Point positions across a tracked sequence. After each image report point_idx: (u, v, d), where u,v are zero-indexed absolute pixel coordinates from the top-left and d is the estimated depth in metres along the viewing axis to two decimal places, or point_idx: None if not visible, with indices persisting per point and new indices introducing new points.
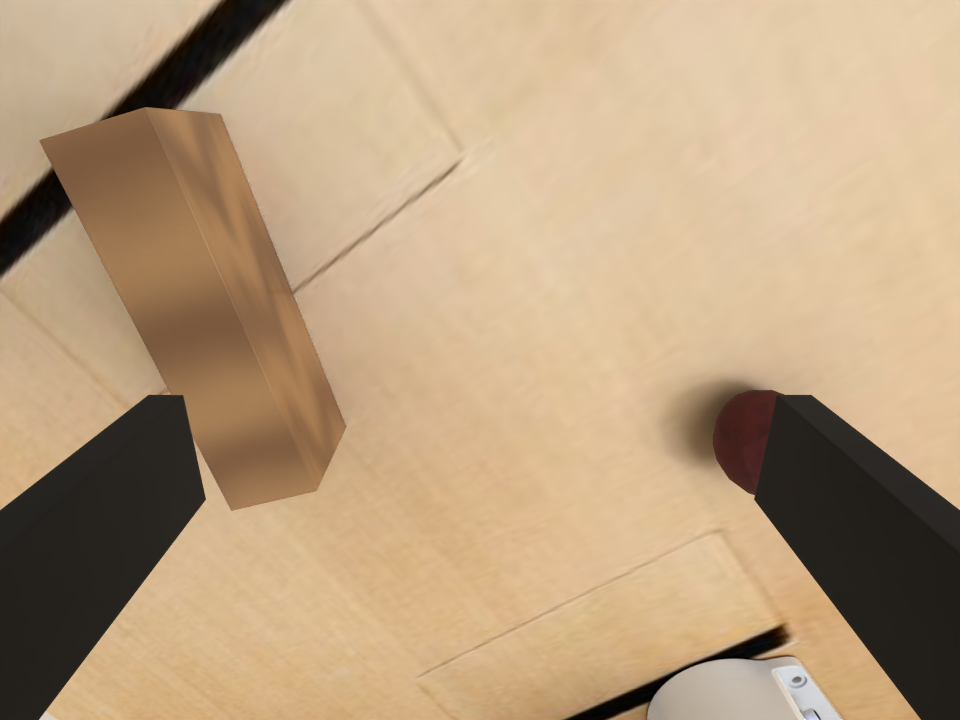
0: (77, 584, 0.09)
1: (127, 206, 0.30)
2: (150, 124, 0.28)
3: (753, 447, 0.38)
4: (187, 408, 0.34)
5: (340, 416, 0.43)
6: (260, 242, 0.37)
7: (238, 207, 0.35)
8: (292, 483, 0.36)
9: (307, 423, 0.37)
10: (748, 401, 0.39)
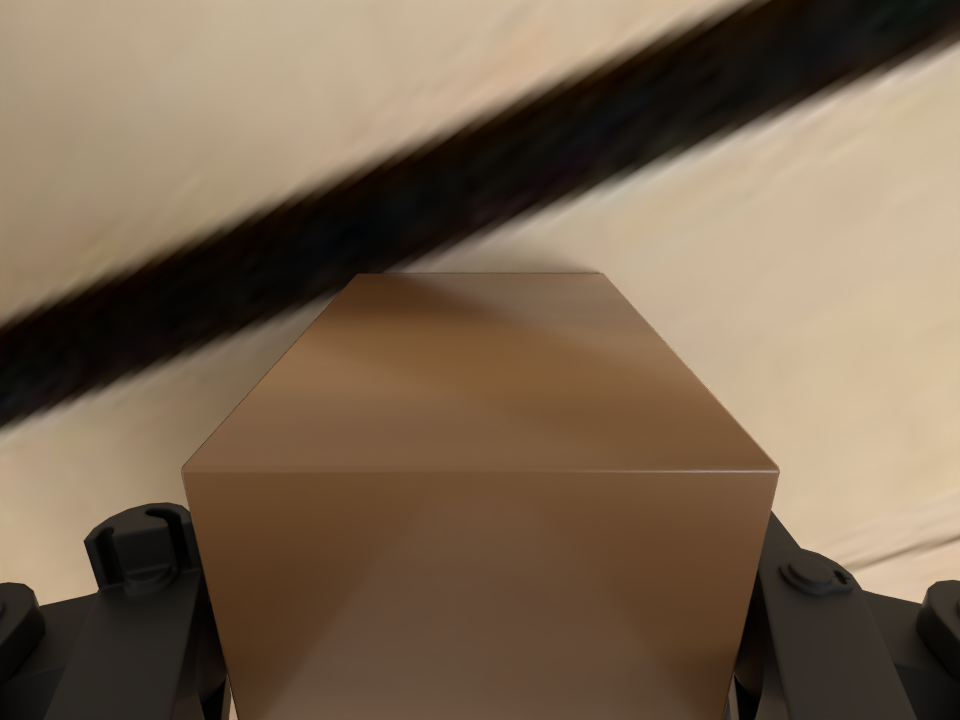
0: None
1: None
2: (752, 531, 0.06)
3: None
4: None
5: None
6: None
7: None
8: None
9: None
10: None
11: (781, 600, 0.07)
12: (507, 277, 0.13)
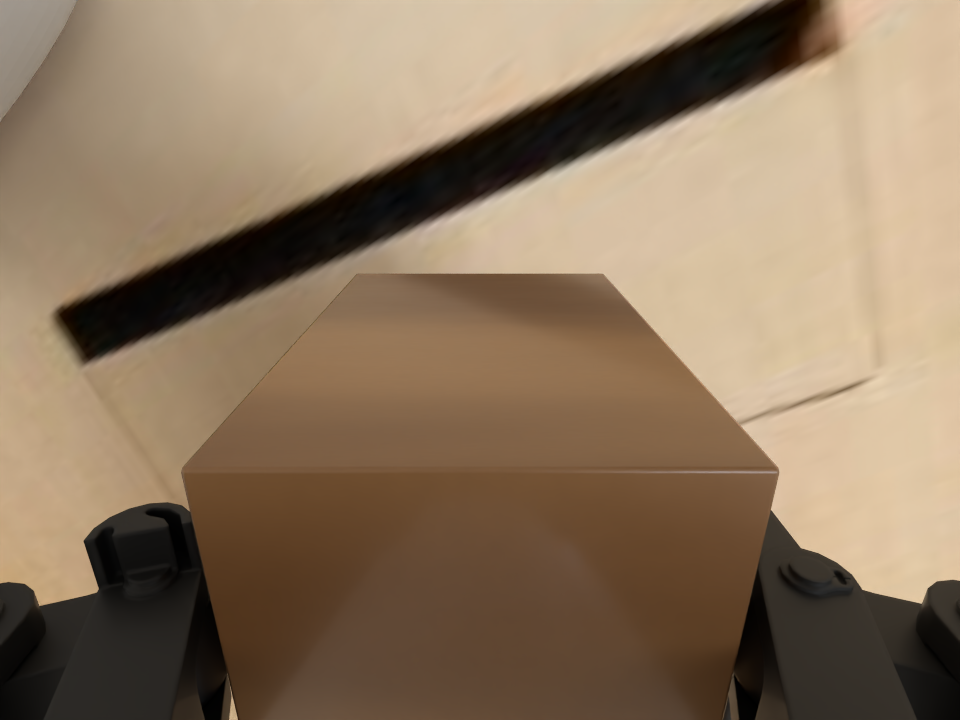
0: None
1: None
2: (751, 532, 0.06)
3: None
4: None
5: None
6: None
7: None
8: None
9: None
10: None
11: (781, 600, 0.07)
12: (507, 277, 0.13)
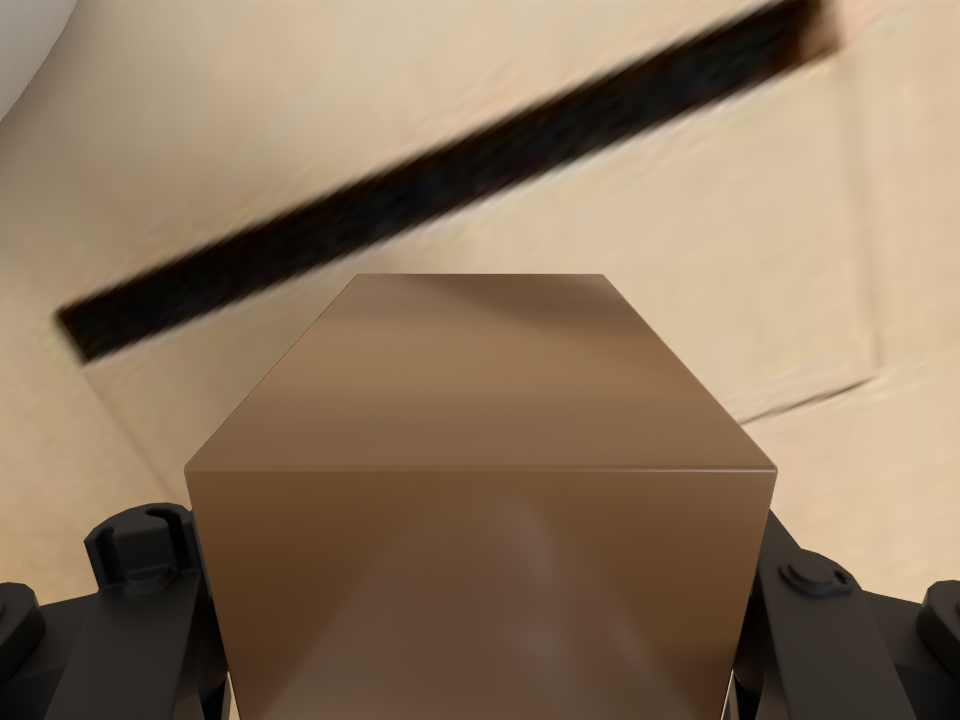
0: None
1: None
2: (749, 529, 0.06)
3: None
4: None
5: None
6: None
7: None
8: None
9: None
10: None
11: (781, 600, 0.07)
12: (507, 278, 0.13)
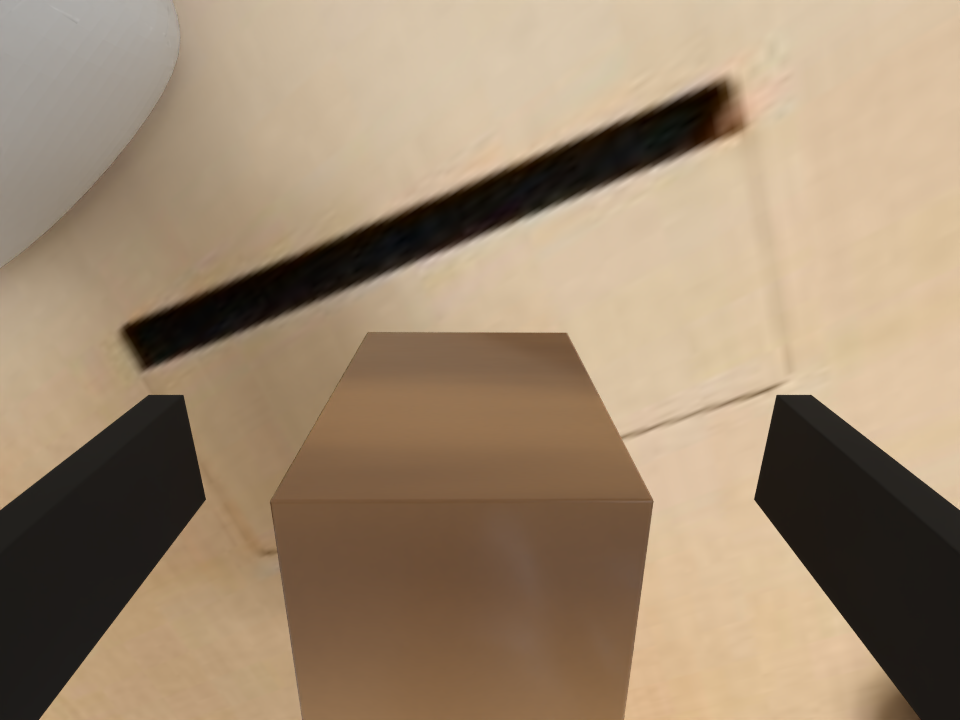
0: (77, 584, 0.09)
1: (450, 693, 0.10)
2: (638, 540, 0.09)
3: None
4: None
5: None
6: None
7: None
8: None
9: None
10: None
11: None
12: (489, 337, 0.16)
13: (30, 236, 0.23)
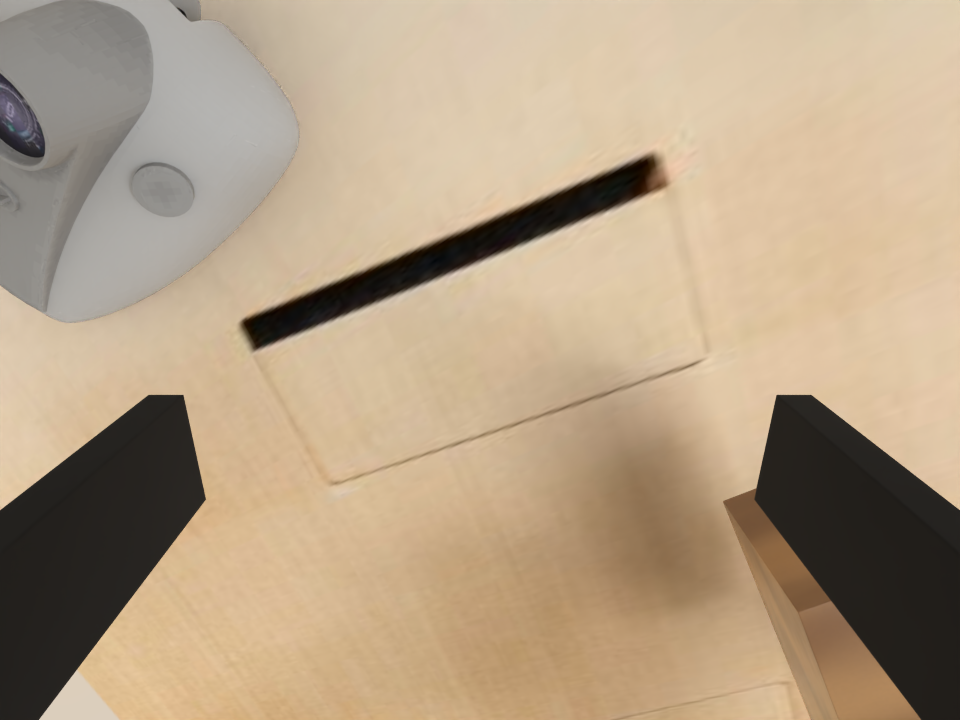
0: (78, 585, 0.09)
1: None
2: None
3: None
4: None
5: None
6: None
7: None
8: None
9: None
10: None
11: None
12: None
13: (198, 262, 0.36)
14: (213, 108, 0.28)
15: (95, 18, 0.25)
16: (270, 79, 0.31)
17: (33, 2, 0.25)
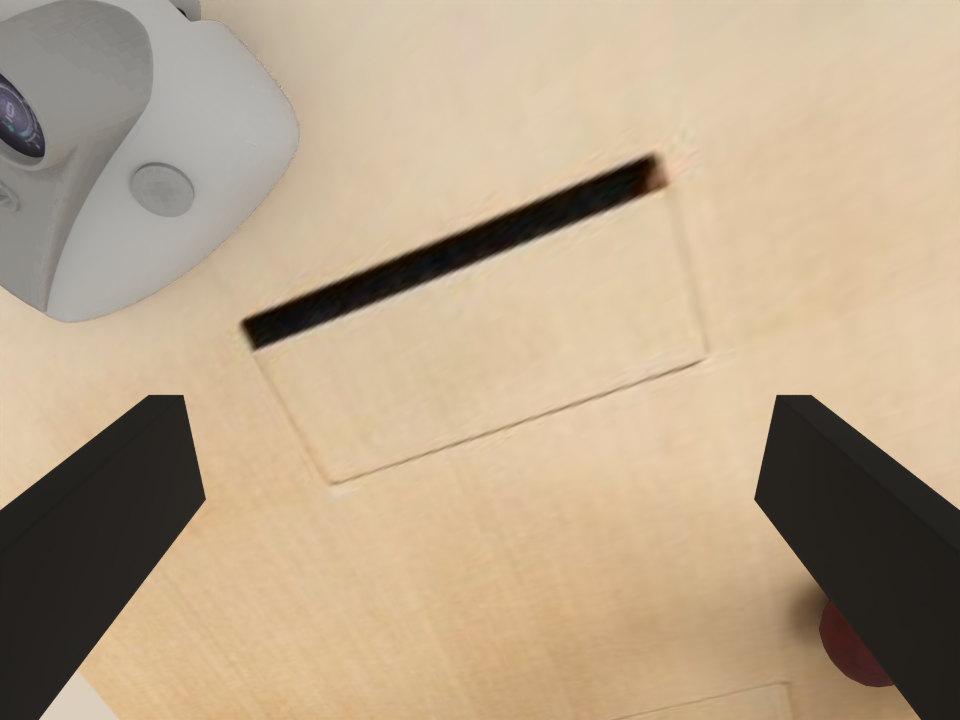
0: (78, 585, 0.09)
1: None
2: None
3: None
4: None
5: None
6: None
7: None
8: None
9: None
10: None
11: None
12: None
13: (198, 262, 0.36)
14: (213, 108, 0.28)
15: (95, 18, 0.25)
16: (270, 79, 0.31)
17: (33, 2, 0.25)
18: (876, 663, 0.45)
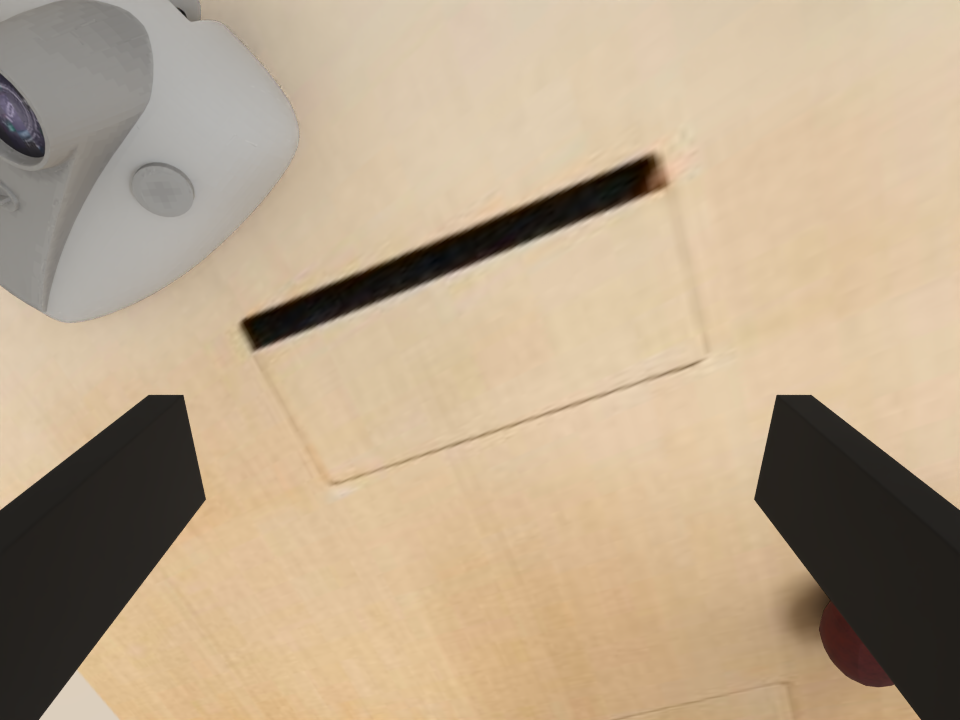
0: (78, 585, 0.09)
1: None
2: None
3: None
4: None
5: None
6: None
7: None
8: None
9: None
10: None
11: None
12: None
13: (198, 262, 0.36)
14: (213, 108, 0.28)
15: (95, 18, 0.25)
16: (270, 79, 0.31)
17: (33, 2, 0.25)
18: (876, 663, 0.45)
